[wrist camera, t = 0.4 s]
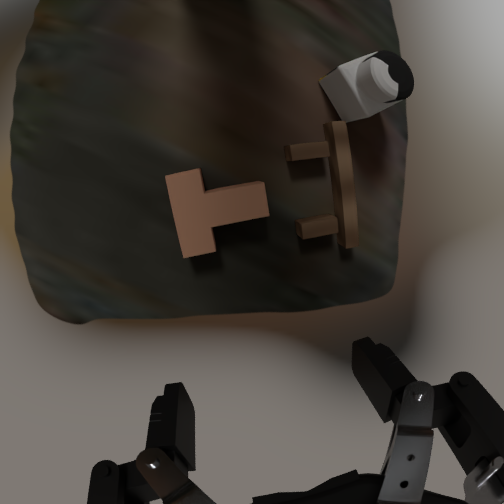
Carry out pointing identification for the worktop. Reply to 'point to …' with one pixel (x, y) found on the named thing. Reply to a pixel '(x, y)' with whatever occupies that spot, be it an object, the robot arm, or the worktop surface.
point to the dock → (341, 186)
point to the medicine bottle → (368, 85)
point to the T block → (210, 208)
